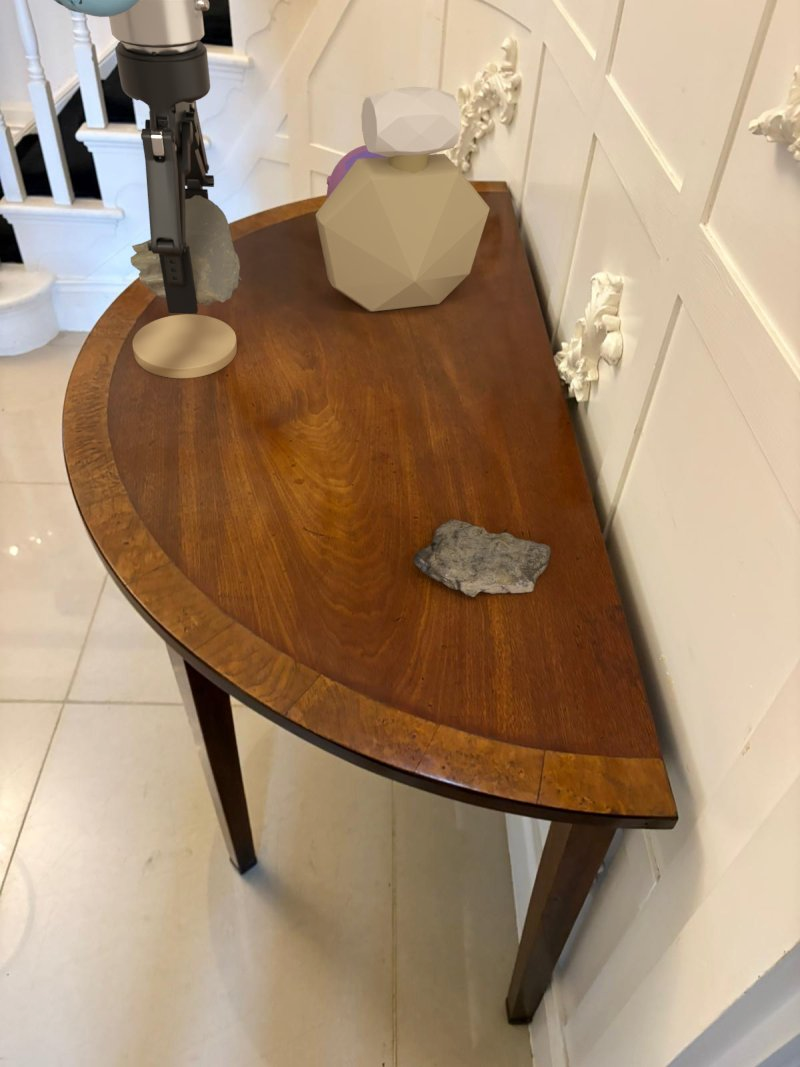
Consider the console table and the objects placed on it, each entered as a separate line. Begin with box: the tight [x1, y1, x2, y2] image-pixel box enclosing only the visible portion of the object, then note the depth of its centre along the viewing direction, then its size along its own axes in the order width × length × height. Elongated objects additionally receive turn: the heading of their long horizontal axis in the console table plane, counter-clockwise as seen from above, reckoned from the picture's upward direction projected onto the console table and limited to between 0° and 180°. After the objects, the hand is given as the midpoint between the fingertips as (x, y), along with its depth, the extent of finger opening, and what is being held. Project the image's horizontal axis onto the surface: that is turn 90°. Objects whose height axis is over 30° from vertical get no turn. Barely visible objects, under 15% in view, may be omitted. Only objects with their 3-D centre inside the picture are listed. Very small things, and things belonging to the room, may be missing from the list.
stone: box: [412, 518, 552, 598], centre depth 77 cm, size 14×8×3 cm, turn 76°
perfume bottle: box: [315, 86, 491, 313], centre depth 105 cm, size 12×24×28 cm, turn 108°
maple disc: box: [132, 313, 238, 379], centre depth 101 cm, size 13×13×2 cm
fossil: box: [130, 195, 243, 307], centre depth 79 cm, size 14×10×10 cm
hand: (192, 279), depth 81 cm, fingers closed on fossil, 12 cm apart
